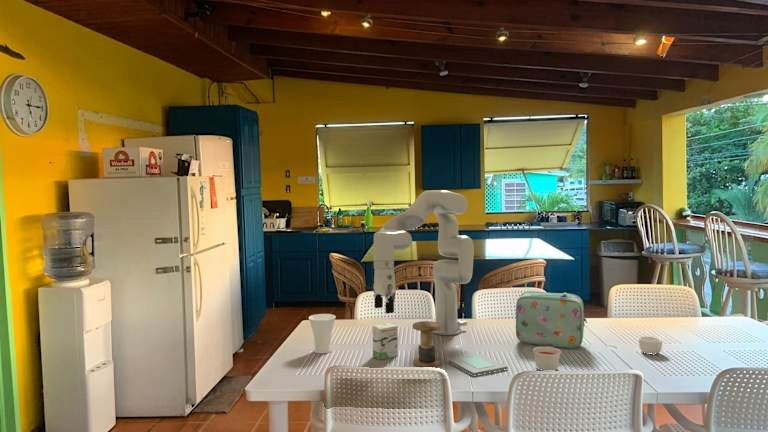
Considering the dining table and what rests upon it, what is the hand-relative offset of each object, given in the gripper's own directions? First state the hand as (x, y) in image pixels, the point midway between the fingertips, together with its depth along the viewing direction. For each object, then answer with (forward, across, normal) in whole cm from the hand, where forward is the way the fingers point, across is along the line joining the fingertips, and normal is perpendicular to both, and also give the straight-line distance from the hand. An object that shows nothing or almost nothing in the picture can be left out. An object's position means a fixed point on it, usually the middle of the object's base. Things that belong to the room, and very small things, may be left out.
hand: (384, 310), depth 199 cm
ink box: (+18, 0, -1) cm, 18 cm away
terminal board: (+17, -25, -25) cm, 39 cm away
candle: (+17, -38, -45) cm, 61 cm away
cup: (+18, +17, +18) cm, 31 cm away
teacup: (+17, -42, -91) cm, 101 cm away
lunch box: (+17, -17, -66) cm, 70 cm away
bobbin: (+18, -14, -11) cm, 25 cm away
